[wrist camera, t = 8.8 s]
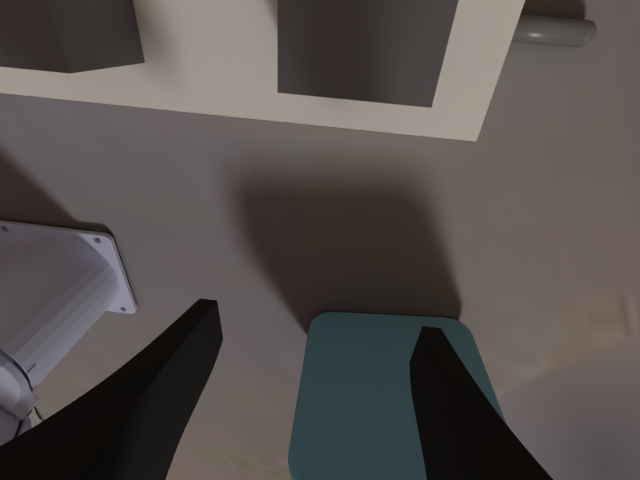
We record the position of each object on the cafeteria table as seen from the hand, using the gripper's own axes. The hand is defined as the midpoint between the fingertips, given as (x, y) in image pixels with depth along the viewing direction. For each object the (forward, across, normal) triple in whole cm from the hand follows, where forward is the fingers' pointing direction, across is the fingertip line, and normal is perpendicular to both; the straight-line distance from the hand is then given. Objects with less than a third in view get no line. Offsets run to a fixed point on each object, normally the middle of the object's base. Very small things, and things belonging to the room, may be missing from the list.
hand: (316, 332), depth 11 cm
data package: (+11, -5, +11) cm, 16 cm away
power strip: (+10, +4, -10) cm, 15 cm away
